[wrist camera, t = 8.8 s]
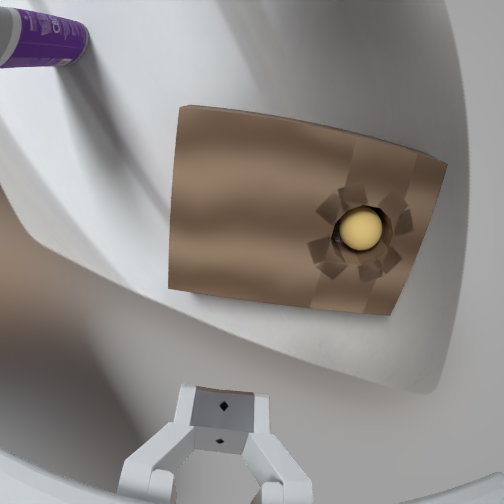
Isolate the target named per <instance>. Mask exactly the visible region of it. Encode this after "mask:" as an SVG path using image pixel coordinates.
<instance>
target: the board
mask: <svg viewBox="0 0 504 504" xmlns="http://www.w3.org/2000/svg"><path fill="white" fill-rule="evenodd" d="M447 165H448V164H446V163H444V162H442V161H440V160H438V159H436V158H434V157H432V156H430V155H428V154H426V153H423V152H420V151H417V150H414V149H411V148H408V147H404V146H401V145H398V144H394V143H391V142H388V141H384V140H381V139H377V138H373V137H370V136H366V135H362V134H358V133H355V132H351V131H346V130H342V129H338V128H334V127H330V126H325V125H320V124H316V123H311V122H306V121H301V120H296V119H291V118H285V117H280V116H274V115H268V114H262V113H255V112H248V111H241V110H234V109H226V108H217V107H208V106H198V105H188V106H183V107H180V108H179V117H178V126H177V136H176V146H175V157H174V169H173V182H172V197H171V215H170V237H169V272H168V289H174V290H180V291H186V292H193V293H199V294H206V295H213V296H220V297H227V298H234V299H241V300H249V301H257V302H264V303H272V304H280V305H289V306H297V307H306V308H315V309H325V310H334V311H344V312H355V313H366V314H377V315H389V316H390V315H391V313H392V310H393V308H394V306H395V304H396V302H397V300H398V298H399V295H400V293H401V291H402V289H403V287H404V284H405V282H406V280H407V277H408V275H409V273H410V270H411V268H412V266H413V263H414V261H415V258H416V256H417V253H418V251H419V248H420V246H421V243H422V240H423V238H424V235H425V232H426V230H427V227H428V224H429V221H430V219H431V216H432V213H433V210H434V207H435V204H436V201H437V198H438V195H439V192H440V188H441V185H442V182H443V179H444V175H445V172H446V168H447ZM362 205H368V206H373V207H377V211H378V216H379V217H380V219H381V222H382V234H381V237H380V239H379V241H378V242H377V243H376V244H375V245H374V246H373V247H371V248H369V249H366V250H356V249H353V248H351V247H349V246H348V245H346V244H344V243H338V242H336V241H334V240H333V239H332V238H331V236H332V233H333V229H334V226H335V223H336V222H337V221H338V220H339V219H340V218H341V217H342V216H343V215H344V213H345V212H346V211H347V210H350V209H353V208H356V207H359V206H362Z"/></svg>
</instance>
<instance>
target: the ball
mask: <svg viewBox="0 0 504 504" xmlns="http://www.w3.org/2000/svg"><path fill="white" fill-rule="evenodd" d="M339 232H340V236H341V238H342V240H343V241H344V242H345V244H346V245H348V246H349V247H351V248H353V249H356V250H366V249H369V248H371V247H373V246H374V245H375V244H376V243H377V242H378V241H379V239H380V237H381V234H382V222H381V219H380V217H379V216H378V214H377V213H376V212H375V211H374V210H372V209H371V208H369V207H366V206H359V207H356V208H353V209H350V210H347V211H346V212H345V213H344V215H343V216H342V218H341V220H340V224H339Z"/></svg>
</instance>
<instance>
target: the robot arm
mask: <svg viewBox="0 0 504 504" xmlns="http://www.w3.org/2000/svg"><path fill="white" fill-rule="evenodd" d="M269 403H270V402H269V395H268V394H259V393H252V392H241V391H230V390H219V389H212V388H206V387H199V386H194V385H187V384H182V386H181V389H180V393H179V398H178V403H177V408H176V413H175V418H174V423H172V422H169V423H168V424H167V425H165V426H164V427H163V428H162V429H161V430H160V431H159V432H157V433H156V434H155V435H154V436H153V437H152V438H151V439H149V440H148V441H147V442H146V443H145V444H144V445H143V446H141V447H140V448H139V449H138V450H137V451H135V452H134V453H133V454H132V455H131V456H129V457H128V458H127V459H126V460H125V462H124V466H123V470H122V474H121V478H120V481H119V485H118V489H117V493H116V494H115V493H111V492H108V491H105V490H101V489H98V488H95V487H92V486H89V485H86V484H83V483H80V482H78V481H75V480H72V479H69V478H67V477H64V476H62V475H59V474H57V473H54V472H52V471H49V470H47V469H45V468H43V467H40V466H38V465H36V464H34V463H31V462H29V461H27V460H25V459H23V458H21V457H19V456H17V455H15V454H13V453H11V452H9V451H7V450H6V449H4V448H2V447H0V504H176V499H177V492H176V486H175V480H174V476H173V473H174V472H175V471H176V470H177V468H179V467H180V465H181V464H182V463H183V462H184V461H185V460H186V459H187V458H188V457H189V455H191V453H192V452H193V451H194V449H197V450H206V451H216V452H224V453H232V454H241V455H242V457H243V459H244V461H245V462H246V464H247V466H248V467H249V469H250V470H251V472H252V474H253V475H254V477H255V478H256V480H257V482H258V484H259V485H260V487H261V488H260V489H259V491H258V493H257V494H256V495H255V497H254V498H253V500H252V502H251V504H313V492H312V482H311V480H310V479H309V478H308V476H307V475H306V474H305V473H304V472H303V470H302V469H301V468H300V467H299V465H298V464H297V463H296V461H295V460H294V459H293V458H292V456H291V455H290V454H289V453H288V451H287V450H286V449H285V448H284V446H283V445H282V443H281V442H280V441H279V440H278V438H277V437H276V436H275V435H274V434H270V404H269ZM396 504H504V474H503V473H501V472H496V473H492V474H490V475H487V476H485V477H482V478H480V479H477V480H475V481H472V482H469V483H467V484H464V485H461V486H458V487H455V488H452V489H449V490H445V491H442V492H439V493H436V494H432V495H428V496H425V497H421V498H417V499H413V500H409V501H405V502H400V503H396Z"/></svg>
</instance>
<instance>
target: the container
mask: <svg viewBox="0 0 504 504" xmlns="http://www.w3.org/2000/svg"><path fill="white" fill-rule="evenodd" d="M88 40H89V34H88V30H87V28H86V27H85V26H84V25H83V24H82V23H80V22H77V21H73V20H69V19H65V18H61V17H56V16H52V15H48V14H43V13H38V12H33V11H28V10H22V9H16V8H9V7H0V68H14V67H38V66H69V65H71V64H73V63H75V62H76V61H78V60H79V59H80V58H81V57H82V55H83V54H84V52H85V50H86V48H87V45H88Z"/></svg>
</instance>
